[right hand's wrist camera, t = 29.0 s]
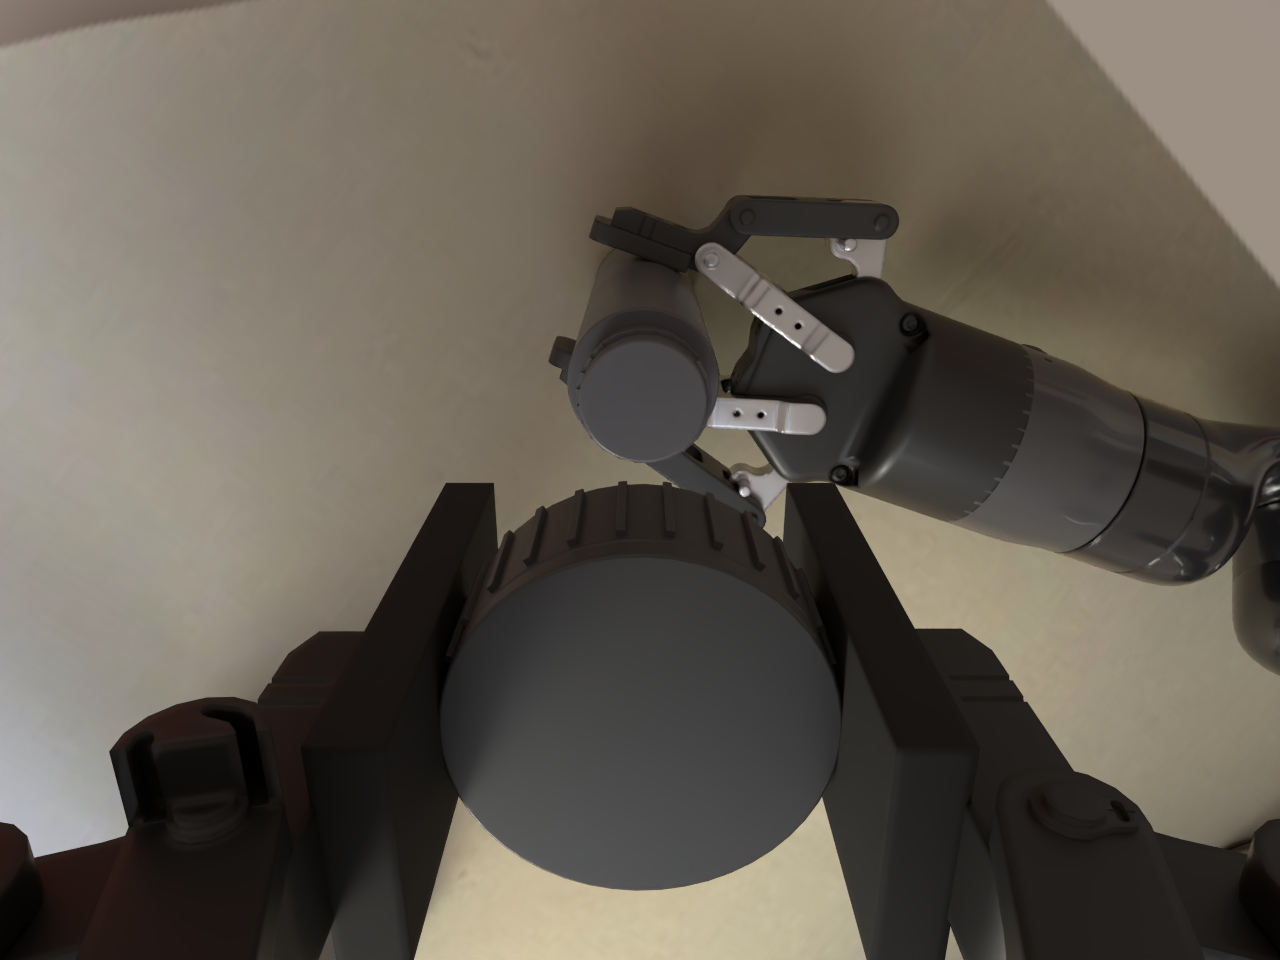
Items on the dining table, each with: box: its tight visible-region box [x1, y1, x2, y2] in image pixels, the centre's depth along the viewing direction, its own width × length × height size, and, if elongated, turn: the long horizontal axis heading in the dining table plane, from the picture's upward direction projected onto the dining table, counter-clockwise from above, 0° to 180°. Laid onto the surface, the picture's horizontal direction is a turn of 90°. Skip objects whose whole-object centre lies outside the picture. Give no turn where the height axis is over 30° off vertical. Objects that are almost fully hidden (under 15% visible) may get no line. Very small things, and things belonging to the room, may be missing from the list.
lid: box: [438, 481, 842, 890], centre depth 11 cm, size 5×5×2 cm
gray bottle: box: [567, 248, 720, 463], centre depth 31 cm, size 4×4×18 cm
